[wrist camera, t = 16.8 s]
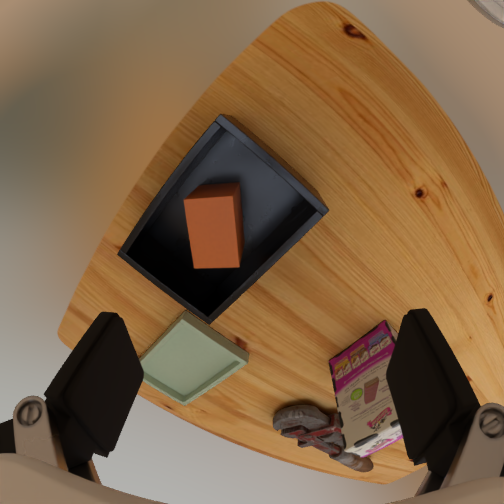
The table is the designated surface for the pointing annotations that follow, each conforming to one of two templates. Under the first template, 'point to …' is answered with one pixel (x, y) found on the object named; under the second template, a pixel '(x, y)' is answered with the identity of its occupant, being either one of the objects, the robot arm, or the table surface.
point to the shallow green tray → (190, 359)
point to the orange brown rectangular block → (215, 225)
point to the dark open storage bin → (253, 210)
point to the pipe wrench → (318, 434)
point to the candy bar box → (366, 392)
